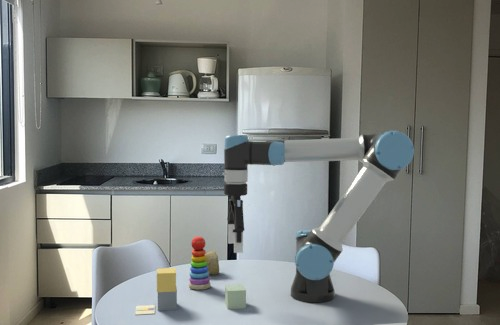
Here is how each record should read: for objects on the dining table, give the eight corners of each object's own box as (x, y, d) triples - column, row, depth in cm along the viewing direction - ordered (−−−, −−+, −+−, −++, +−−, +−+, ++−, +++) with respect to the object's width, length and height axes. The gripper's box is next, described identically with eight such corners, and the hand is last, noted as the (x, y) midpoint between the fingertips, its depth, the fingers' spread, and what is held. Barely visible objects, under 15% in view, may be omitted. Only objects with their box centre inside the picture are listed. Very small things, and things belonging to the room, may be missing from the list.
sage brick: (243, 302, 176) (243, 284, 176) (245, 308, 170) (246, 290, 170) (225, 303, 175) (225, 285, 175) (227, 309, 169) (227, 291, 169)
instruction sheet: (154, 305, 172) (154, 304, 172) (154, 313, 164) (154, 312, 164) (136, 306, 171) (136, 305, 171) (135, 314, 163) (135, 314, 163)
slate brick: (176, 303, 174) (176, 285, 174) (176, 309, 169) (176, 291, 168) (157, 304, 173) (157, 286, 173) (157, 310, 168) (157, 292, 167)
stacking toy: (199, 282, 198) (199, 233, 197) (215, 286, 193) (215, 236, 192) (184, 287, 192) (184, 236, 191) (199, 291, 187) (199, 239, 186)
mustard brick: (175, 286, 174) (175, 268, 174) (175, 291, 168) (175, 272, 168) (157, 286, 173) (157, 268, 173) (156, 292, 167) (156, 273, 167)
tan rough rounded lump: (228, 259, 206) (205, 250, 204) (217, 283, 207) (194, 273, 204) (225, 252, 215) (203, 243, 213) (215, 274, 216) (192, 265, 214)
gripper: (219, 179, 182) (219, 240, 183) (229, 186, 157) (228, 257, 159) (241, 179, 183) (240, 239, 184) (254, 186, 159) (253, 256, 160)
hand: (235, 247), depth 172 cm, fingers open, 13 cm apart
